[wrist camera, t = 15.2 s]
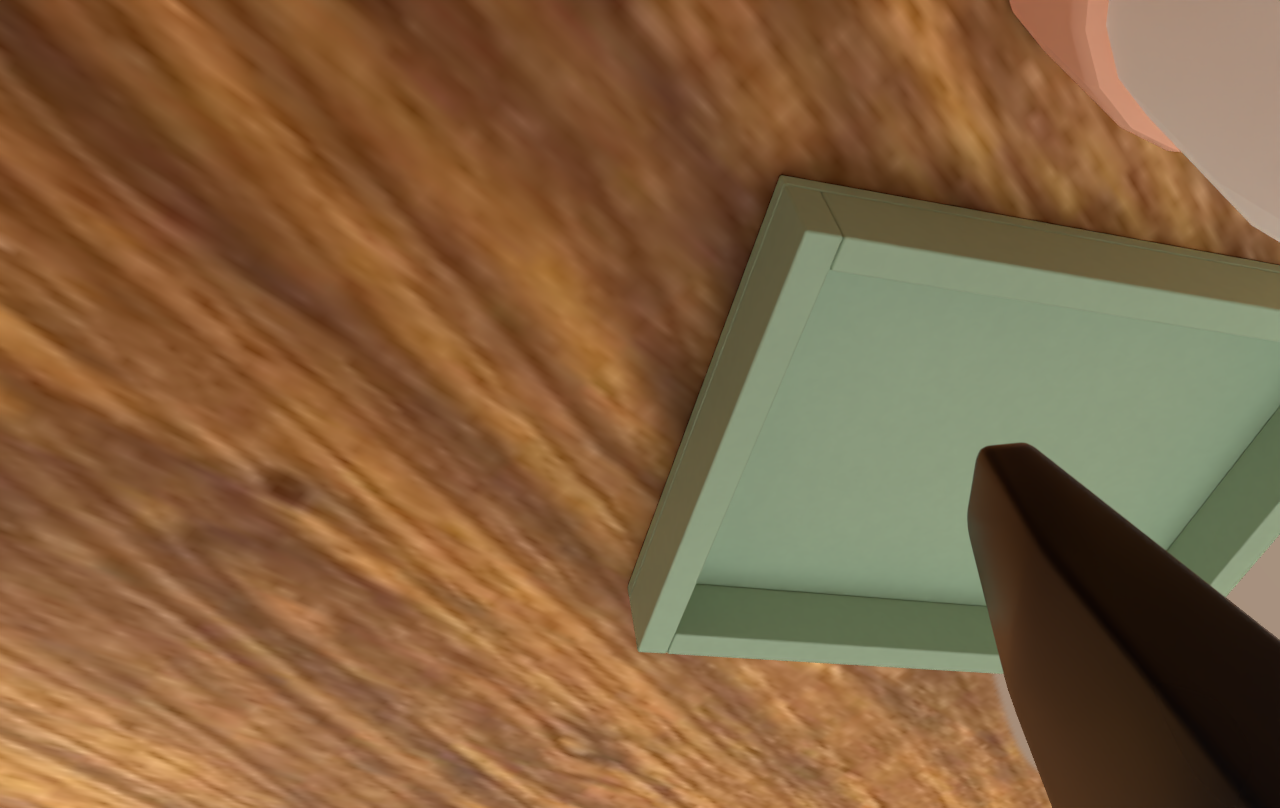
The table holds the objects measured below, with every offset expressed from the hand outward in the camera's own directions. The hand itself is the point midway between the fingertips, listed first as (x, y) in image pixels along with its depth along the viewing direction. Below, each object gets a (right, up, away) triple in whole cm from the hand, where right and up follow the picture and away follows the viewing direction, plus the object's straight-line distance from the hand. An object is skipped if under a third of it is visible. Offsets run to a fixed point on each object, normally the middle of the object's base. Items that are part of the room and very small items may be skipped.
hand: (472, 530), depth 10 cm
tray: (+10, 0, +19) cm, 21 cm away
